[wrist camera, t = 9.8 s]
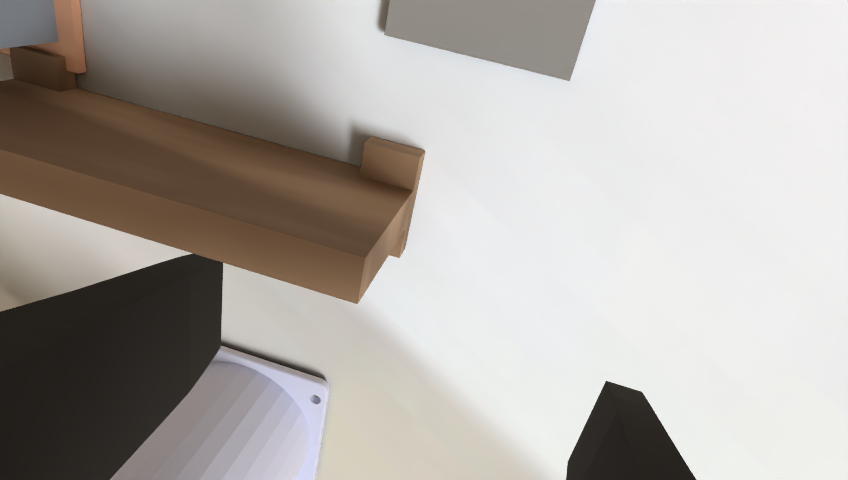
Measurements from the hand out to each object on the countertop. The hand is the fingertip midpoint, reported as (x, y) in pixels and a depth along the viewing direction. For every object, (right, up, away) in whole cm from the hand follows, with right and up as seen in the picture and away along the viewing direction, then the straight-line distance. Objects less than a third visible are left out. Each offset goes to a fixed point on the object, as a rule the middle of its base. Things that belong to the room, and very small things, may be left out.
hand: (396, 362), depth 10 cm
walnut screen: (-7, +6, +11) cm, 15 cm away
